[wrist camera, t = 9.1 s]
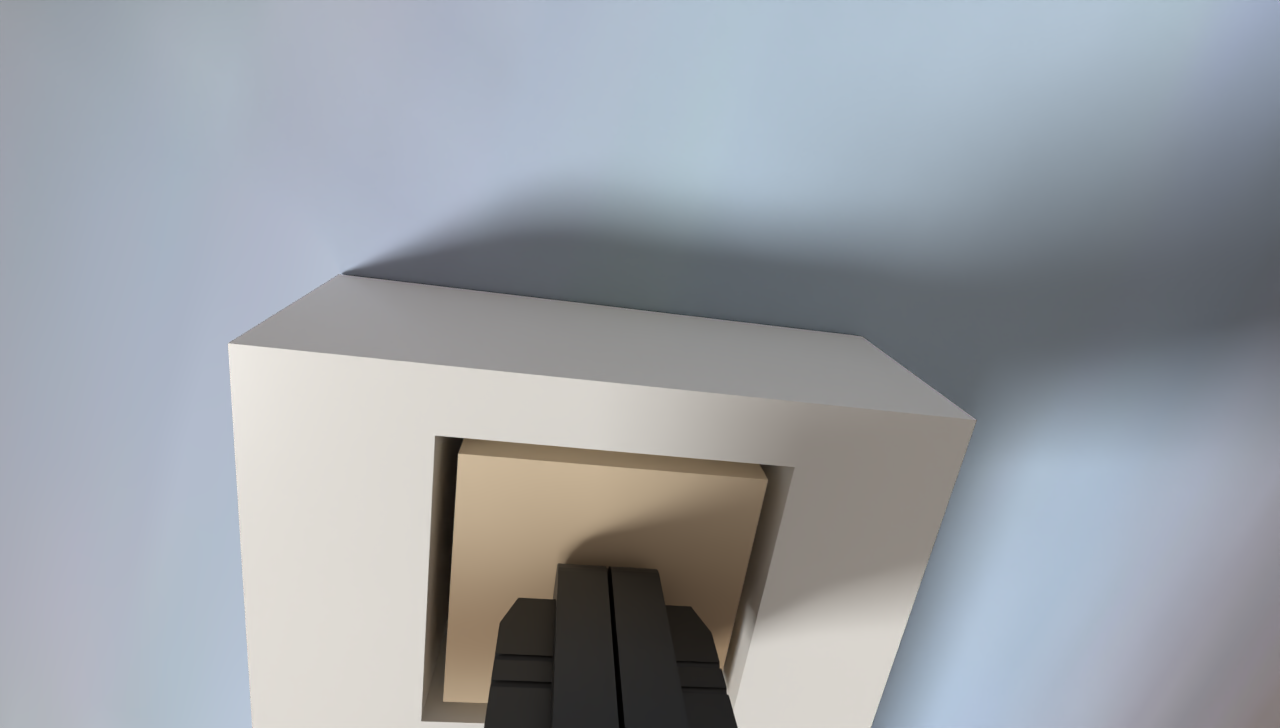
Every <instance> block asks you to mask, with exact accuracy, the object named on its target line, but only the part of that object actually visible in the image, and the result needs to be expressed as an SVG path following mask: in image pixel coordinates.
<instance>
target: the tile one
mask: <svg viewBox="0 0 1280 728" xmlns="http://www.w3.org/2000/svg"><path fill="white" fill-rule="evenodd" d="M767 483H768V479H767V477H766V475H765V473H764V471H763V470H762V468H761V466H760V464H753V463H742V462H731V461H719V460H708V459H697V458H685V457H674V456H662V455H651V454H640V453H628V452H617V451H606V450H594V449H583V448H572V447H560V446H549V445H537V444H526V443H515V442H503V441H492V440H481V439H469V438H464V439H463V442H462V445H461V447H460V450H459V453H458V466H457V482H456V499H455V515H454V531H453V547H452V564H451V580H450V596H449V612H448V629H447V645H446V661H445V677H444V694H443V702H468V703H488V697H489V690H490V685H491V677H492V670H493V664H494V658H495V650H496V644H497V637H498V630H499V624H500V621H501V620H502V619H503V617H504V616H505V615H506V613H507V612H508V611H509V609H510V608H511V607H512V605H513V604H514V603H515V601H516V600H517V599H518V598H537V599H553V594H554V585H555V577H556V570H557V564H558V563H562V564H578V565H595V566H606V568H607V571H608V568H609V566H615V567H631V568H648V569H657V570H658V572H659V575H660V580H661V585H662V591H663V596H664V601H665V605H674V606H691V607H692V608H693V610H694V611H695V612H696V613H697V615H698V616H699V617H700V618H701V620H702V621H703V622H704V624H705V625H706V626H707V627H708V629H709V630H710V631H711V632H712V636H713V640H714V643H715V647H716V650H717V654H718V658H719V661H720V668H721V669H722V672H723V667H724V663H725V659H726V655H727V651H728V646H729V642H730V638H731V634H732V630H733V625H734V621H735V617H736V613H737V609H738V604H739V600H740V596H741V592H742V588H743V583H744V579H745V575H746V571H747V567H748V562H749V558H750V554H751V550H752V546H753V541H754V537H755V533H756V529H757V525H758V520H759V516H760V512H761V508H762V504H763V499H764V495H765V491H766V487H767Z"/></svg>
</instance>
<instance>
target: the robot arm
mask: <svg viewBox="0 0 1280 728" xmlns="http://www.w3.org/2000/svg"><path fill="white" fill-rule="evenodd" d="M484 728H738V727H737V723H736V720H735V716H734V712H733V709H732V705H731V701H730V698H729V695H727V687H726V683H725V680H724V676H723V672H722V669H721V668H720V661H719V658H718V654H717V650H716V647H715V643H714V640H713V636H712V632H711V631H710V630H709V629H708V627H707V626H706V625H705V624H704V622H703V621H702V620H701V618H700V617H699V616H698V615H697V613H696V612H695V611H694V610H693V608H692V607H691V606H674V605H665V601H664V596H663V591H662V585H661V580H660V575H659V572H658V570H657V569H648V568H631V567H615V566H609V568H608V571H607V568H606V566H595V565H578V564H562V563H558V564H557V570H556V577H555V585H554V594H553V599H537V598H518V599H517V600H516V601H515V603H514V604H513V605H512V607H511V608H510V609H509V611H508V612H507V613H506V615H505V616H504V617H503V619H502V620H501V621H500V624H499V630H498V637H497V644H496V650H495V658H494V664H493V670H492V677H491V685H490V690H489V697H488V703H487V710H486V717H485V723H484Z"/></svg>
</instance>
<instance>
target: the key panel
mask: <svg viewBox="0 0 1280 728" xmlns="http://www.w3.org/2000/svg"><path fill="white" fill-rule="evenodd" d="M228 351H229V367H230V383H231V399H232V415H233V430H234V446H235V462H236V478H237V494H238V510H239V525H240V541H241V557H242V573H243V589H244V604H245V620H246V636H247V652H248V668H249V684H250V699H251V715H252V728H484V723H485V717H486V710H487V703H468V702H443V694H444V677H445V661H446V645H447V629H448V612H449V596H450V580H451V564H452V547H453V531H454V515H455V499H456V482H457V466H458V453H459V450H460V447H461V445H462V442H463V439H464V438H469V439H481V440H492V441H503V442H515V443H526V444H537V445H549V446H560V447H572V448H583V449H594V450H606V451H617V452H628V453H640V454H651V455H662V456H674V457H685V458H697V459H708V460H719V461H731V462H742V463H753V464H760V466H761V468H762V470H763V471H764V473H765V475H766V477H767V479H768V483H767V487H766V491H765V495H764V499H763V504H762V508H761V512H760V516H759V520H758V525H757V529H756V533H755V537H754V541H753V546H752V550H751V554H750V558H749V562H748V567H747V571H746V575H745V579H744V583H743V588H742V592H741V596H740V600H739V604H738V609H737V613H736V617H735V621H734V625H733V630H732V634H731V638H730V642H729V646H728V651H727V655H726V659H725V663H724V667H723V676H724V680H725V683H726V687H727V695H729V698H730V701H731V705H732V709H733V712H734V716H735V720H736V723H737V727H738V728H871V726H872V723H873V720H874V717H875V714H876V711H877V708H878V705H879V702H880V699H881V697H882V694H883V691H884V688H885V685H886V682H887V679H888V676H889V673H890V670H891V668H892V665H893V662H894V659H895V656H896V653H897V650H898V647H899V644H900V641H901V639H902V636H903V633H904V630H905V627H906V624H907V621H908V618H909V615H910V612H911V610H912V607H913V604H914V601H915V598H916V595H917V592H918V589H919V586H920V583H921V581H922V578H923V575H924V572H925V569H926V566H927V563H928V560H929V557H930V554H931V551H932V549H933V546H934V543H935V540H936V537H937V534H938V531H939V528H940V525H941V522H942V520H943V517H944V514H945V511H946V508H947V505H948V502H949V499H950V496H951V493H952V491H953V488H954V485H955V482H956V479H957V476H958V473H959V470H960V467H961V464H962V462H963V459H964V456H965V453H966V450H967V447H968V444H969V441H970V438H971V435H972V433H973V430H974V427H975V424H976V421H977V420H976V419H975V418H973V417H972V416H971V415H969V414H968V413H966V412H965V411H964V410H962V409H961V408H960V407H958V406H957V405H955V404H954V403H953V402H951V401H950V400H949V399H947V398H946V397H944V396H943V395H942V394H940V393H939V392H938V391H936V390H935V389H933V388H932V387H931V386H929V385H928V384H927V383H925V382H924V381H923V380H921V379H920V378H918V377H917V376H916V375H914V374H913V373H912V372H910V371H909V370H907V369H906V368H905V367H903V366H902V365H901V364H899V363H898V362H896V361H895V360H894V359H892V358H891V357H890V356H888V355H887V354H885V353H884V352H883V351H881V350H880V349H879V348H877V347H876V346H874V345H873V344H872V343H870V342H869V341H868V340H866V339H865V338H864V337H862V336H856V335H847V334H839V333H830V332H822V331H813V330H805V329H797V328H788V327H780V326H771V325H763V324H754V323H746V322H737V321H729V320H721V319H712V318H704V317H695V316H687V315H678V314H670V313H662V312H653V311H645V310H636V309H628V308H619V307H611V306H602V305H594V304H586V303H577V302H569V301H560V300H552V299H543V298H535V297H527V296H518V295H510V294H501V293H493V292H484V291H476V290H468V289H459V288H451V287H442V286H434V285H425V284H417V283H408V282H400V281H392V280H383V279H375V278H366V277H358V276H349V275H341V274H338V275H337V276H335V277H334V278H332V279H330V280H329V281H327V282H326V283H324V284H322V285H321V286H319V287H317V288H316V289H314V290H313V291H311V292H309V293H308V294H306V295H305V296H303V297H301V298H300V299H298V300H297V301H295V302H293V303H292V304H290V305H289V306H287V307H285V308H284V309H282V310H281V311H279V312H277V313H276V314H274V315H273V316H271V317H269V318H268V319H266V320H265V321H263V322H261V323H260V324H258V325H257V326H255V327H253V328H252V329H250V330H249V331H247V332H245V333H244V334H242V335H241V336H239V337H237V338H236V339H234V340H233V341H231V342H229V343H228Z"/></svg>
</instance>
